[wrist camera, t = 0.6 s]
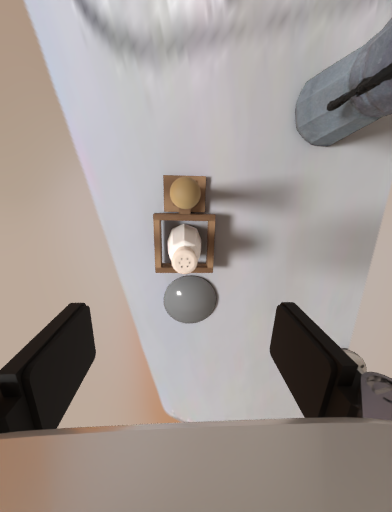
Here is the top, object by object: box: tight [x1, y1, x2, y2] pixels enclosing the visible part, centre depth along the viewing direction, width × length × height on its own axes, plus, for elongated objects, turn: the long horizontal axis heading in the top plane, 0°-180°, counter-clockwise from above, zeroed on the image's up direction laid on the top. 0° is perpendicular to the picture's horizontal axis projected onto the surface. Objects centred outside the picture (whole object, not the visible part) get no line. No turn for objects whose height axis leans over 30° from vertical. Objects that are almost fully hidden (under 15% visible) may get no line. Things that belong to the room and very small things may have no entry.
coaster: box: [164, 276, 216, 323], centre depth 34 cm, size 9×9×1 cm
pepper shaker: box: [167, 224, 202, 274], centre depth 26 cm, size 5×5×11 cm
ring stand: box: [153, 175, 216, 273], centre depth 23 cm, size 14×9×16 cm, turn 179°
